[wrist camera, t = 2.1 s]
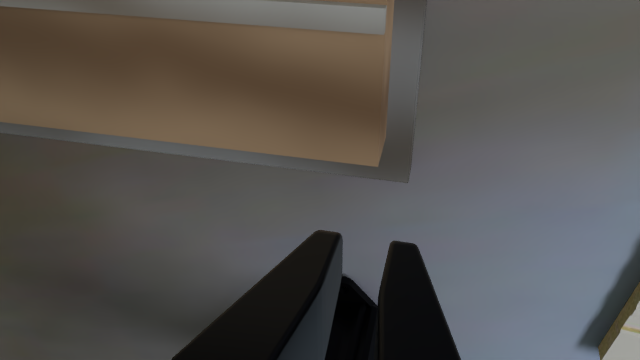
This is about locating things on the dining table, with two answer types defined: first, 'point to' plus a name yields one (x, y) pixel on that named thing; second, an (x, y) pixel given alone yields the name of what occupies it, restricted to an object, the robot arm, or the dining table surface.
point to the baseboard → (624, 332)
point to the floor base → (220, 79)
